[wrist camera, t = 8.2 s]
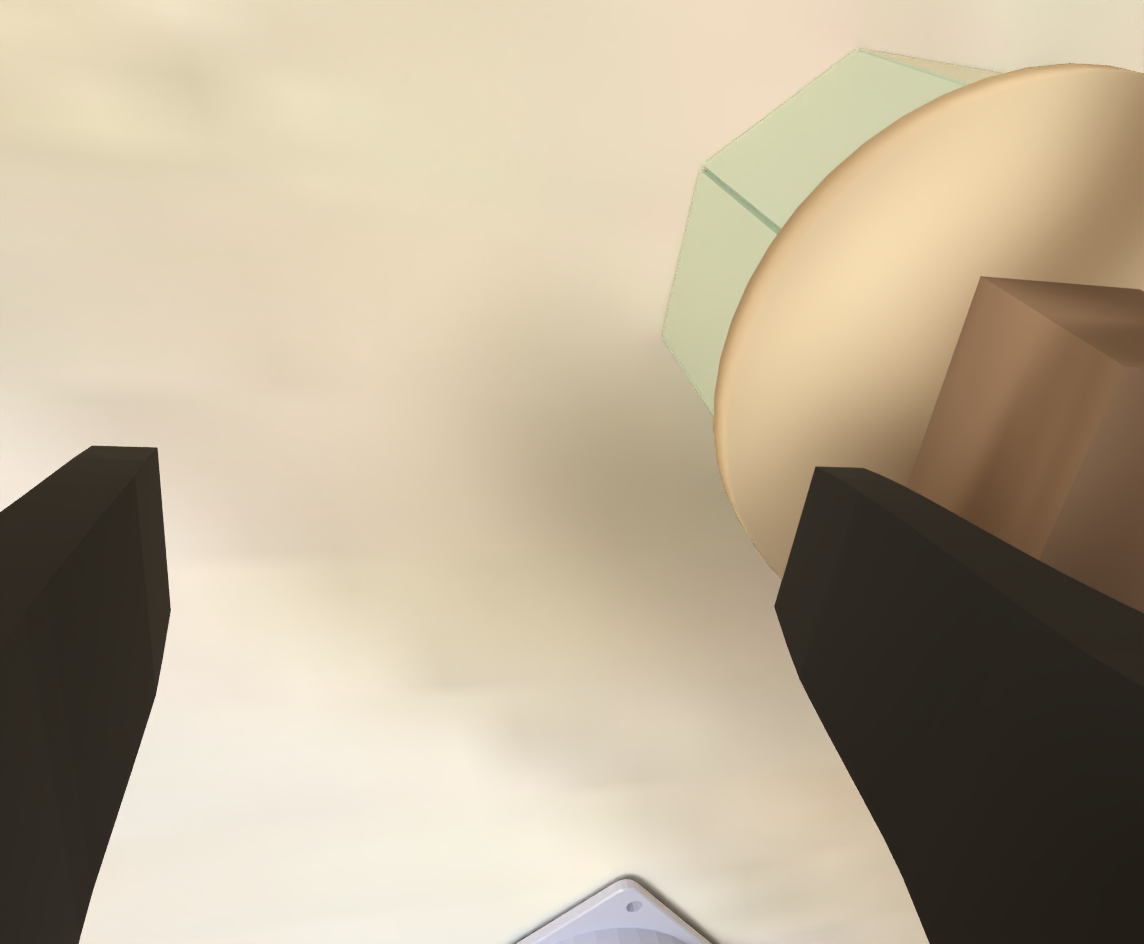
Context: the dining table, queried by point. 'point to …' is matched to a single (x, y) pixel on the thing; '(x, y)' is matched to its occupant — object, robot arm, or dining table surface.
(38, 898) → the robot arm
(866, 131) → the green bowl
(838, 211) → the oak lid
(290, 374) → the dining table surface
